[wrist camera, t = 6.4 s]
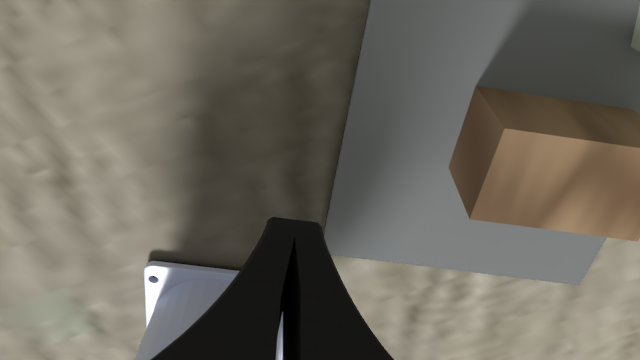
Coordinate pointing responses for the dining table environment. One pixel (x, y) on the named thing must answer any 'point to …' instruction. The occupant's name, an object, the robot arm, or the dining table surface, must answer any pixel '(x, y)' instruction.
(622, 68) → the mat
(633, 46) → the sage block
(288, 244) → the robot arm
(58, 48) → the dining table surface
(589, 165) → the walnut block
